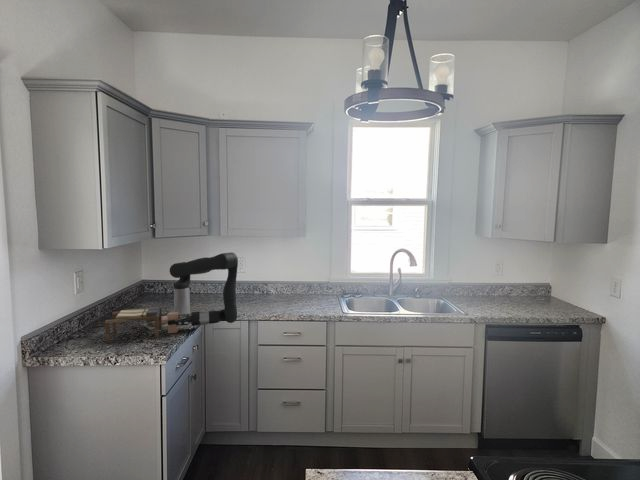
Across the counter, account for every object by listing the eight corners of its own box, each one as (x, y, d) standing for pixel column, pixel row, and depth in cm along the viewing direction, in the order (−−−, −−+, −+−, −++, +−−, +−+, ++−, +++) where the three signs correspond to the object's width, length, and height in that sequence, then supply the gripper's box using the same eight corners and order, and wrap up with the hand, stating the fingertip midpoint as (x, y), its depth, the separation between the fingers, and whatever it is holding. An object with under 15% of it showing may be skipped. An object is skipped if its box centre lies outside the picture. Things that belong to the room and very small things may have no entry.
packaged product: (174, 312, 221) (181, 315, 214) (174, 320, 222) (181, 323, 215) (143, 318, 209) (149, 322, 202) (143, 326, 209) (150, 330, 202)
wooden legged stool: (114, 332, 198) (113, 311, 197) (161, 328, 205) (161, 308, 204) (106, 343, 181) (104, 320, 180) (158, 338, 189) (157, 316, 188)
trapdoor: (121, 316, 196) (121, 308, 196) (160, 313, 202) (159, 306, 202) (116, 324, 184) (115, 315, 183) (157, 320, 189) (156, 312, 189)
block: (168, 330, 201) (168, 312, 200) (178, 329, 203) (177, 311, 202) (167, 333, 196) (167, 315, 196) (177, 332, 198) (177, 314, 197)
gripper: (200, 308, 210) (169, 310, 205) (200, 315, 196) (166, 317, 191) (200, 321, 211) (169, 323, 206) (200, 328, 197) (167, 331, 192)
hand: (168, 320), depth 198 cm, fingers open, 6 cm apart
